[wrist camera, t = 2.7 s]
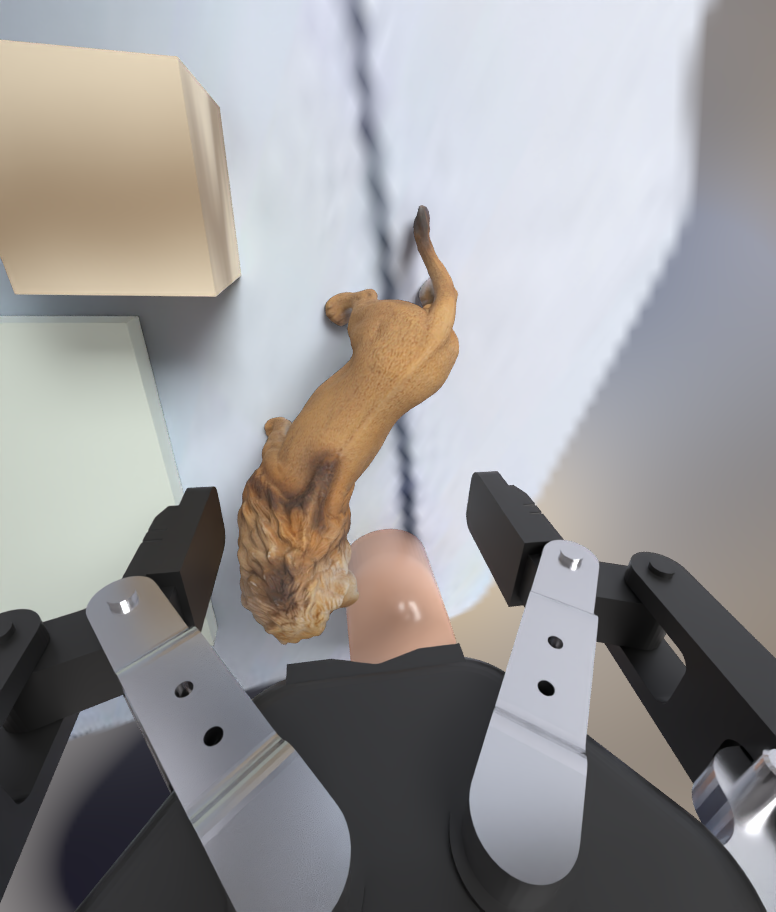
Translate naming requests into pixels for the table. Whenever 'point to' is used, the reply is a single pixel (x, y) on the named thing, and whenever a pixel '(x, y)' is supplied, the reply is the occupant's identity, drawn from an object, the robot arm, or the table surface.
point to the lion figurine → (338, 451)
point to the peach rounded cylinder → (394, 599)
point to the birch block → (111, 175)
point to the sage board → (78, 459)
